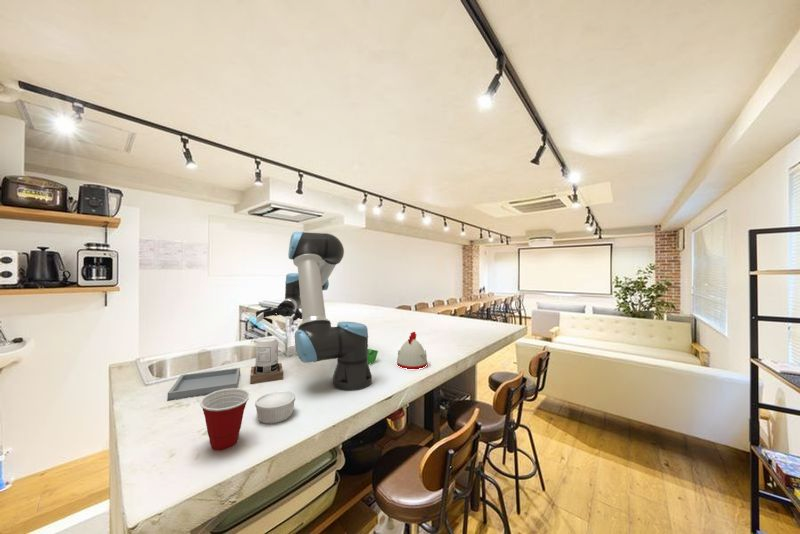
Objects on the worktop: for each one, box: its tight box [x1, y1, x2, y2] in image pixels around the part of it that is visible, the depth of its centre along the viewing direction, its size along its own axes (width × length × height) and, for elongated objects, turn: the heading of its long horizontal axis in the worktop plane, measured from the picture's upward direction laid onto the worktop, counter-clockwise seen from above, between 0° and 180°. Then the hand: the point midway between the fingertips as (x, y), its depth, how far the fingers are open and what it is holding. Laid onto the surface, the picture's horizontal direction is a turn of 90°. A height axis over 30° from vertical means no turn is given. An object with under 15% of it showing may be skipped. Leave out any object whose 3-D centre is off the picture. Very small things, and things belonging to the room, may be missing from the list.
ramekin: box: [254, 390, 296, 424], centre depth 87 cm, size 11×11×5 cm
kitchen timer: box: [396, 331, 428, 369], centre depth 134 cm, size 14×14×15 cm
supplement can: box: [255, 337, 279, 375], centre depth 117 cm, size 8×8×15 cm
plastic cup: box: [199, 387, 251, 452], centre depth 73 cm, size 11×11×12 cm
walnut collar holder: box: [249, 362, 284, 385], centre depth 117 cm, size 12×12×3 cm
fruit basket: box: [367, 348, 379, 365], centre depth 137 cm, size 11×9×11 cm
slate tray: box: [166, 367, 241, 402], centre depth 108 cm, size 18×20×2 cm
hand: (273, 320), depth 124 cm, fingers open, 13 cm apart
